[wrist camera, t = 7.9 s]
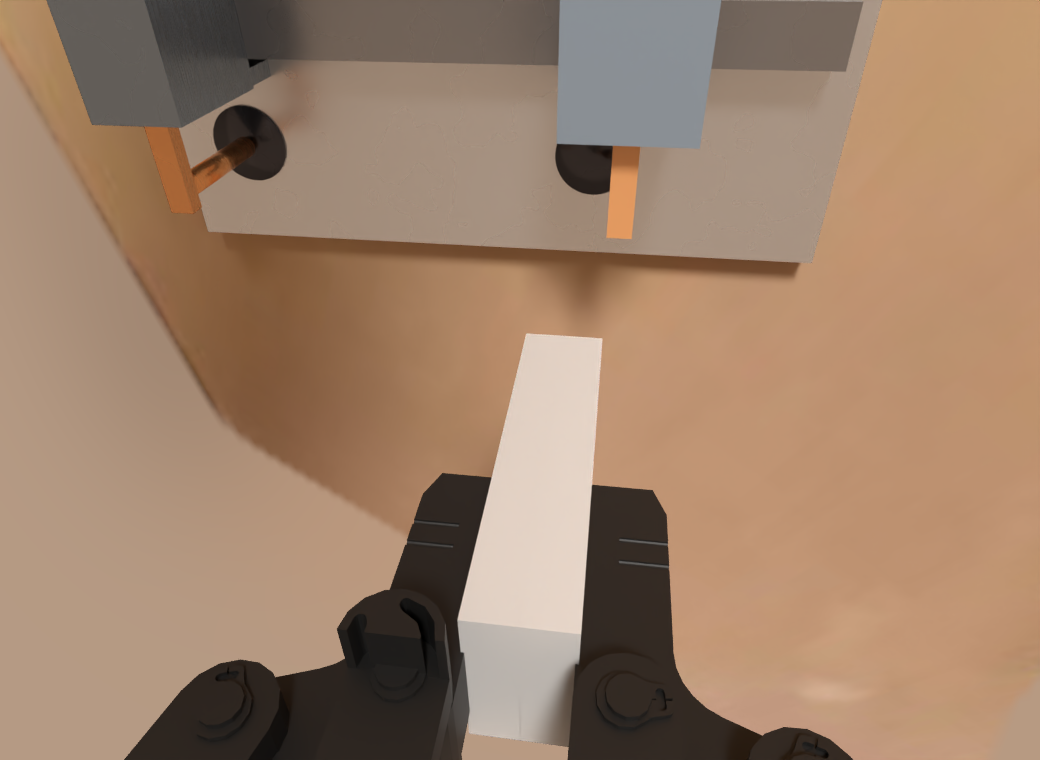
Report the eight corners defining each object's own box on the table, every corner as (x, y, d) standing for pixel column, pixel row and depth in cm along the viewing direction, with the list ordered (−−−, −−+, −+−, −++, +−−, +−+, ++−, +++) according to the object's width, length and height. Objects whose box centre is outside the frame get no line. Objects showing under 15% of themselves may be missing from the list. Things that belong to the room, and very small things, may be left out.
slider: (577, -42, 22) (560, -18, 17) (702, -41, 22) (723, -17, 17) (569, 175, 27) (553, 247, 21) (674, 179, 26) (684, 253, 21)
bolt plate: (112, -167, 23) (-76, -185, 17) (917, -183, 20) (1041, -210, 14) (221, 221, 32) (120, 303, 25) (805, 250, 29) (852, 351, 22)
